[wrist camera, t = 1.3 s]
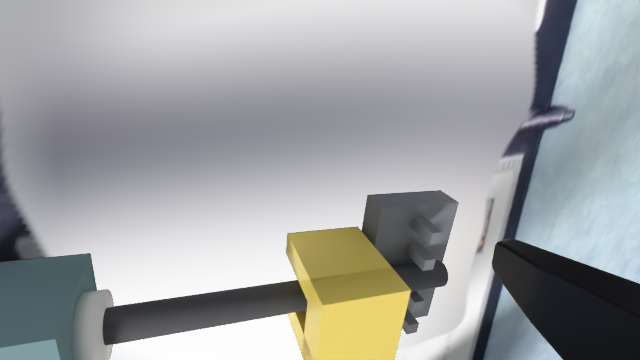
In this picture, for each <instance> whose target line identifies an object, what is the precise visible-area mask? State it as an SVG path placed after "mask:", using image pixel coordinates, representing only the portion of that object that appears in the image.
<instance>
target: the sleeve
mask: <svg viewBox="0 0 640 360" xmlns="http://www.w3.org/2000/svg"><path fill="white" fill-rule="evenodd" d="M286 253H287V256H288V258H289V260H290V263H291V265H292V267H293V270H294V272H295V274H296V276H297V279H298V281H299V283H300V286H301V288H302V290H303V292H304V295H305V297H306V299H307V310H305V311H299V312H293V313H288V316H289V318H290V322H291V325H292V327H293V330H294V333H295V336H296V338H297V342H298V344H299V347H300V350H301V353H302V355H303V359H304V360H394V359H395V355H396V351H397V346H398V342H399V338H400V334H401V330H402V326H403V322H404V318H405V314H406V309H407V305H408V301H409V297H410V293H411V289H410V288H409V287H408V286H407V285H406V283H405V282H404V281H403V280H402V279H401V277H400V276H399V275H398V274H397V273H396V272H395V270H394V269H393V268H392V267H391V266H390V264H389V263H388V262H387V261H386V260H385V259H384V257H383V256H382V255H381V254H380V253H379V251H378V250H377V249H376V248H375V247H374V245H373V244H372V243H371V242H370V241H369V240H368V238H367V237H366V236H365V235H364V234H363V232H362V231H361V230H360V229H359V228H358V227H349V228H338V229H328V230H318V231H307V232H297V233H288V235H287V249H286Z"/></svg>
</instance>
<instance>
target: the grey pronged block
mask: <svg viewBox="0 0 640 360" xmlns="http://www.w3.org/2000/svg"><path fill="white" fill-rule="evenodd" d="M457 206H458V202H457V201H456V200H454V199H452V198H451V197H449V196H448V195H446V194H445V193H443V192H442V191H424V192H408V193H392V194H376V195H368V196H367V202H366V209H365V214H364V221H363V227H362V232H363V234H364V235H365V236H366V237H367V238H368V240H369V241H370V242H371V243H372V244H373V245H374V247H375V248H376V249H377V250H378V251H379V253H380V254H381V255H382V256H383V257H384V259H385V260H386V261H387V262H388V263H389V264H390V266H391V267H392V266H399V265H406V264H413V263H416V264H417V265H418V266H419V267H420V268H421V270H422V271H426V270H432V269H433V268H434V264H435V260H439V261H441V262H442V261H443V257H444V253H445V250H446V246H447V243H448V239H449V235H450V232H451V228H452V225H453V221H454V217H455V213H456V210H457ZM434 290H435V288H430V289H424V290H418V291H413V292H411V293H410V297H409V301H408V305H407V309H406V314H405V318H404V322H403V326H402V328H403V329H404V331H405V332H406V334H410V333H414V332H417V328H418V324H419V323H418V322H417V320H416V319H415V318H417V317H422V316H427V315H428V312H429V308H430V304H431V300H432V297H433V294H434Z"/></svg>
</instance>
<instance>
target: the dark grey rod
mask: <svg viewBox="0 0 640 360" xmlns="http://www.w3.org/2000/svg"><path fill="white" fill-rule="evenodd" d="M392 268H393V269H394V270H395V272H396V273H397V274H398V275H399V276H400V277H401V279H402V280H403V281H404V282H405V283H406V285H407V286H408V287H409V288H410V289H411V292H413V291H418V290H424V289H430V288H435V287H441V286H444V285H446V283H447V281H448V273H447V269H446V267H445V265H444V264H443V263H442V262H441V261H439V260H435V264H434V268H433V269H432V270H426V271H422V270H421V268H420V267H419V266H418V265H417V264H416V263H413V264H406V265H399V266H392ZM305 310H307V299H306V297H305V295H304V292H303V290H302V288H301V286H300V283H299V281H298V280H295V281H289V282H281V283H275V284H267V285H261V286H254V287H247V288H240V289H233V290H226V291H219V292H212V293H206V294H199V295H192V296H185V297H177V298H171V299H163V300H157V301H150V302H143V303H137V304H129V305H122V306H115V307H114V306H113V299H112V295H111V292H110V291H109V290H99V291H97V289H96V283H95V277H94V271H93V266H92V260H91V254H90V253H89V254H78V255H68V256H59V257H47V258H37V259H27V260H16V261H6V262H0V360H109V359H110V356H111V352H112V346H113V344H117V343H123V342H129V341H134V340H140V339H146V338H151V337H156V336H162V335H168V334H173V333H180V332H185V331H191V330H197V329H202V328H208V327H214V326H220V325H225V324H231V323H237V322H242V321H247V320H253V319H259V318H265V317H271V316H276V315H282V314H288V313H293V312H299V311H305Z"/></svg>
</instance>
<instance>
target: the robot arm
mask: <svg viewBox="0 0 640 360" xmlns="http://www.w3.org/2000/svg"><path fill="white" fill-rule="evenodd" d="M492 267H493V270H494V272H495V273H496V275H497V276H498V278H499V279H500V280H501V282H502V283H503V285H504V286H505V287H506V289H507V290H508V292H509V293H510V294H511V296H512V297H513V299H514V300H515V301H516V303H517V304H518V305H519V307H520V308H521V310H522V311H523V312H524V314H525V315H526V316H527V318H528V319H529V320H530V322H531V323H532V324H533V325H534V326H535V328H536V329H537V330H538V331H539V332H540V333H541V335H542V336H543V337H544V338H545V339H546V340H547V342H548V343H549V344H550V345H551V346H552V347H553V348H554V350H555V351H556V352H557V353H558V354H559V355H560V357H561V358H562V359H563V360H640V284H639V283H636V282H633V281H630V280H628V279H625V278H622V277H619V276H616V275H614V274H611V273H608V272H605V271H602V270H600V269H597V268H594V267H591V266H588V265H586V264H583V263H580V262H577V261H574V260H572V259H569V258H566V257H563V256H560V255H558V254H555V253H552V252H549V251H546V250H544V249H541V248H538V247H535V246H532V245H530V244H527V243H524V242H521V241H519V240H516V239H512V238H509V239H505V240H502V241H500V242H497V244H496V245H495V249H494V255H493V261H492Z"/></svg>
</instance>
